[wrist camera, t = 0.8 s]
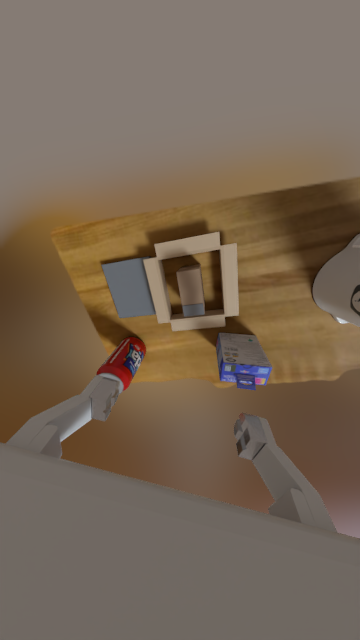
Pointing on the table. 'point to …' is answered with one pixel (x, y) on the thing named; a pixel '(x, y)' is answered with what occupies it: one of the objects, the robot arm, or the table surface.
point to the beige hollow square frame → (227, 281)
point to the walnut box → (191, 290)
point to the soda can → (124, 362)
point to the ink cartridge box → (242, 360)
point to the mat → (130, 287)
